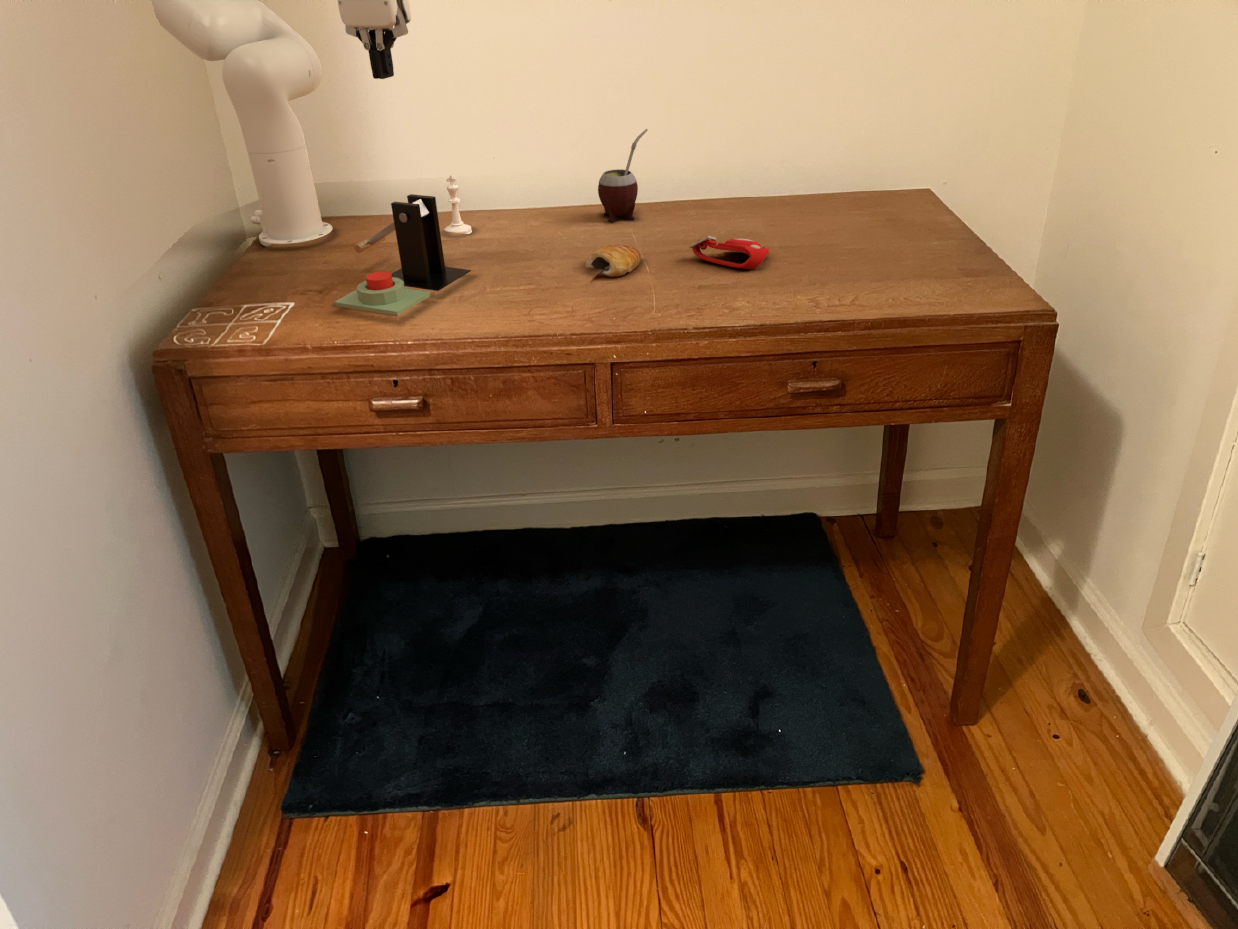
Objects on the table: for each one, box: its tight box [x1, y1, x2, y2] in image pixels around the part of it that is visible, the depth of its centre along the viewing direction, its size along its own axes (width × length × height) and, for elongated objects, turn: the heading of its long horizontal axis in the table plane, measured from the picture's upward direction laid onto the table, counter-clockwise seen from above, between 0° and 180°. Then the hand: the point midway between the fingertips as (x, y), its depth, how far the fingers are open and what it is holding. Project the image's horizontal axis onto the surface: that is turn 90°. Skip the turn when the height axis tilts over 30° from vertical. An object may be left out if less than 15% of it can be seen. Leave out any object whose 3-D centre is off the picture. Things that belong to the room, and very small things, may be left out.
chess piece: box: [443, 174, 473, 235], centre depth 159 cm, size 5×5×10 cm
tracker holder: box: [688, 235, 770, 270], centre depth 143 cm, size 12×4×10 cm
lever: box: [353, 199, 429, 254], centre depth 138 cm, size 13×6×2 cm, turn 65°
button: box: [365, 271, 393, 290], centre depth 130 cm, size 4×4×2 cm
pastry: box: [584, 244, 641, 278], centre depth 142 cm, size 9×7×4 cm
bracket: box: [390, 193, 472, 292], centre depth 137 cm, size 11×9×13 cm
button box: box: [333, 277, 431, 317], centre depth 132 cm, size 11×8×4 cm
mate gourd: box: [597, 128, 648, 224], centre depth 162 cm, size 8×8×15 cm
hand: (383, 77), depth 140 cm, fingers closed
